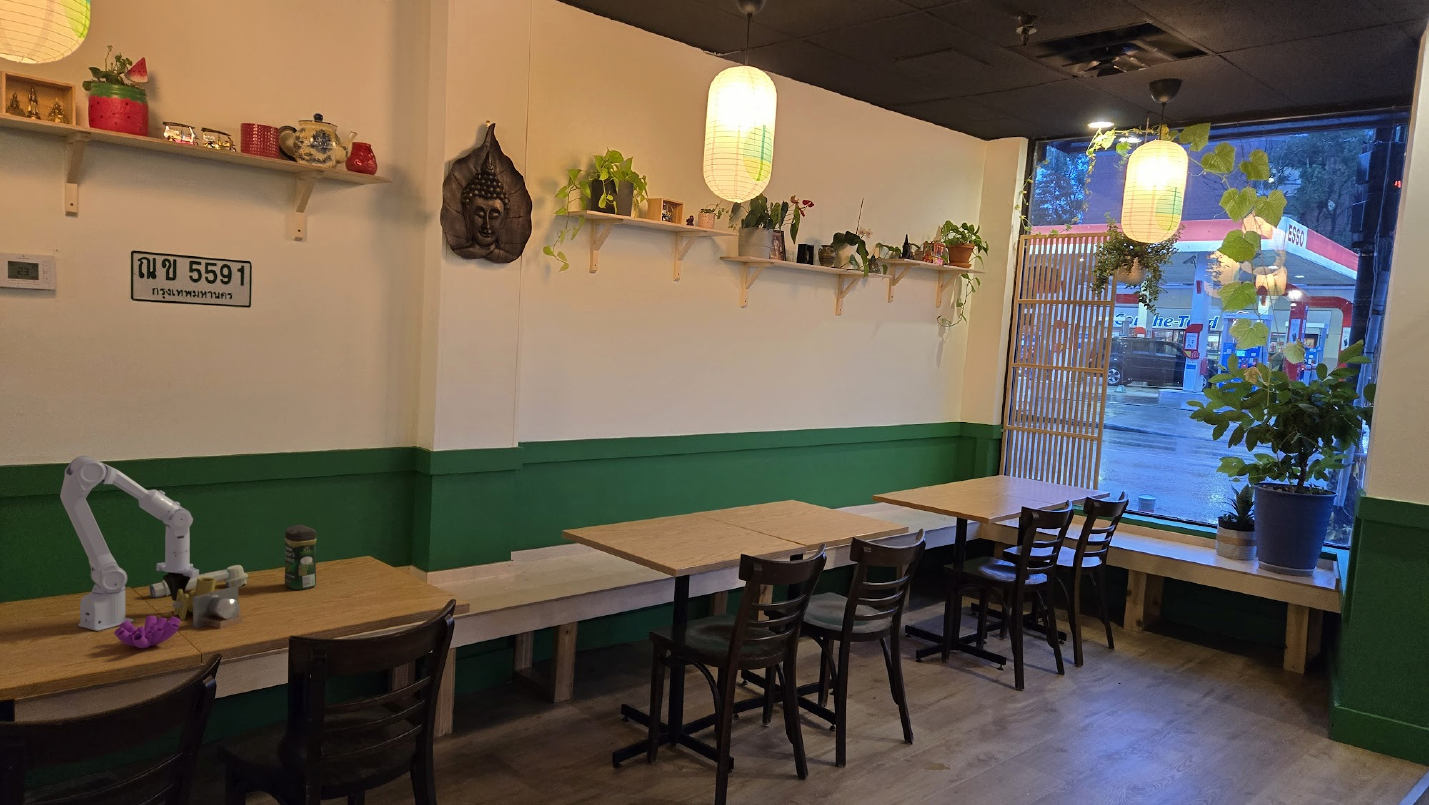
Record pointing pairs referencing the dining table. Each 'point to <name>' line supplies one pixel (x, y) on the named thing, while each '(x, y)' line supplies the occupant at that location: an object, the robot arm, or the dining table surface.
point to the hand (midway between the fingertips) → (177, 600)
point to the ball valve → (186, 600)
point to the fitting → (217, 608)
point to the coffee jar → (300, 557)
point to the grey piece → (229, 575)
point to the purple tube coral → (147, 631)
